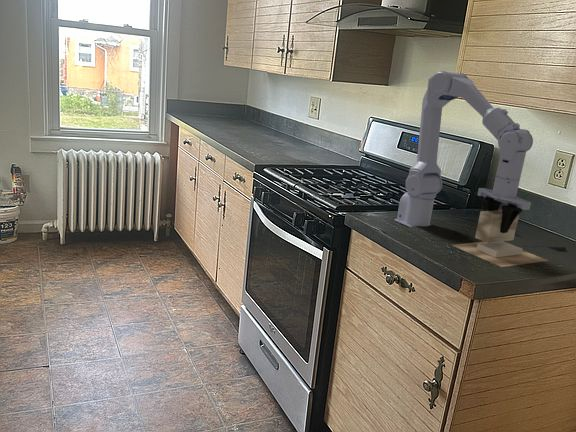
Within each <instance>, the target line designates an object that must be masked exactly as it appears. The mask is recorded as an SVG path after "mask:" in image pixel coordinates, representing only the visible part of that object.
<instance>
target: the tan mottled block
mask: <svg viewBox="0 0 576 432" xmlns="http://www.w3.org/2000/svg"><path fill="white" fill-rule="evenodd" d="M519 218H520V214H519V215H518V216H517V217H516V218H515V220H514V221H513V223H512V224H511V226H510V228H509V230H508V232H507V233H501V232H500V227H501V222H502V209H498V210H497V211H484V210H483V211H482V210H481V211H480V213H479V217H478V222H477V228H476V230H475V231H476V232H475V236H474V238H475V239H477V240H479V241H481V242H487V243H490V242H501V241H504V242H508V241H515V240H514V239H515V236H516V235H515V231H516V230H517V226H518V223H519V222H518V221H519Z"/></svg>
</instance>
